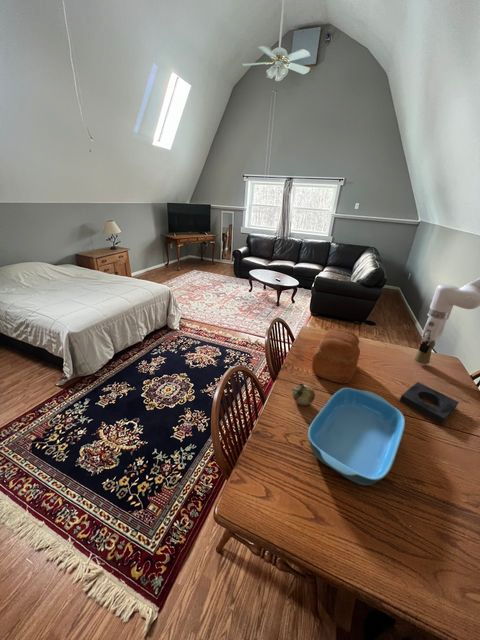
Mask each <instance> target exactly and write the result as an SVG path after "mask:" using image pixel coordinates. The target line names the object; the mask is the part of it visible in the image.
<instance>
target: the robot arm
mask: <svg viewBox="0 0 480 640" xmlns="http://www.w3.org/2000/svg"><path fill="white" fill-rule="evenodd" d="M453 307H457V308H460V309H465V310H474V309H477V308H479V307H480V277H478V278H476V279H475V280H472V281H471V282H468V283H466V284H465V285H463V286H461V287H460V288H459V287H458V286H455V285H454V284H453V285H452V284H446V283H442V284H441V283H440V284H439V285H437V286H436V288H435V291H434V294H433V296H432V300H431V302H430V306H429V309H428V311H427V314H426V315H427V316H428V318H427V321H426V323H425V325H424V328H423V330H422V333H421V337H422V338H421V341H422V343H421V342H420V346H419V349H418V350H419V351H421V352H424V353H427V352H428V349H429V346H430V345H429V344H430V342H431V340H432V341H435V342H436V341H437V339H439V338H441V337H442V335H443V333H444V329H445V326H446V322H447V321H448V320H449V318H450V316H451V313H452V311H453ZM427 339H428V340H429V341H427ZM433 349H434V347H433V348H432V350H433Z"/></svg>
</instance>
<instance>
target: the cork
mask: <svg viewBox="0 0 480 640" xmlns="http://www.w3.org/2000/svg"><path fill="white" fill-rule="evenodd" d="M427 341H429V340H428V339H427ZM421 343H422V340H420V344H421ZM429 345H430V346H429V349H428V352H427V353H424V352H421V351H419V349H418V350H417V352H416V354H415V356H414V358H413V360H414V361H416V362H417V363H419V364H422V365H429V364H430V362H431V356H432V351H433V349H434V347H435V346H436V340H435V341H432V340H431V342H430V344H429ZM432 348H433V349H432Z"/></svg>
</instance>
